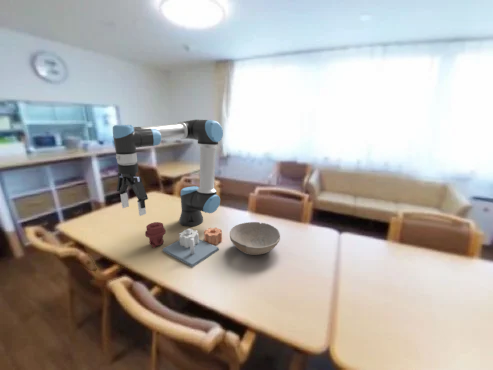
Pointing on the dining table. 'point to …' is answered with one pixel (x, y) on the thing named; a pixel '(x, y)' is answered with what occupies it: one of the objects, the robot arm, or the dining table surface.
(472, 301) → the dining table surface
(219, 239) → the terracotta gear
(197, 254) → the gear board
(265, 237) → the bowl
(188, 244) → the white gear
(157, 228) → the mechanical component
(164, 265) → the dining table surface
